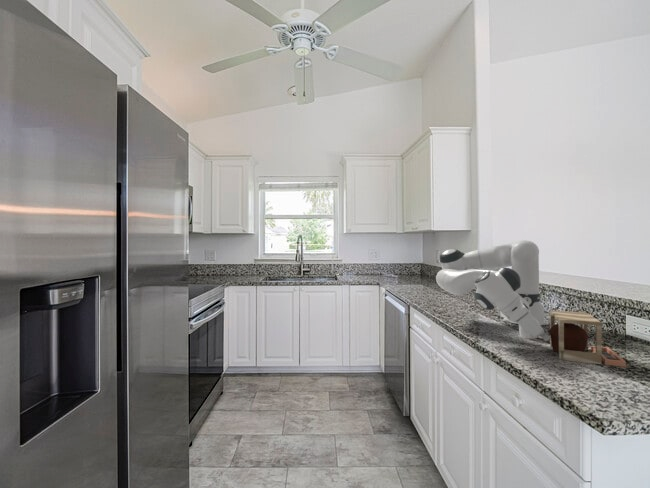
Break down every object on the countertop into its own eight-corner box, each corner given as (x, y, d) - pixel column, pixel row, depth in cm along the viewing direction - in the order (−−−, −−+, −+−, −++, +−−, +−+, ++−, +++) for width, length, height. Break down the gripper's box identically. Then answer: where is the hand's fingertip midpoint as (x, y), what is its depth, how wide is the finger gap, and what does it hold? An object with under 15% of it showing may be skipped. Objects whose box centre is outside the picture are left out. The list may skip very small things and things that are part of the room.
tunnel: (550, 345, 127) (550, 310, 127) (586, 349, 123) (586, 312, 123) (559, 359, 112) (559, 319, 112) (601, 364, 108) (601, 322, 108)
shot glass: (540, 339, 135) (540, 321, 135) (521, 338, 137) (521, 321, 137) (533, 335, 142) (533, 318, 142) (515, 334, 144) (515, 317, 144)
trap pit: (590, 350, 122) (590, 345, 122) (608, 351, 120) (608, 347, 120) (605, 364, 107) (605, 359, 107) (625, 366, 105) (625, 361, 105)
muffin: (571, 348, 124) (572, 320, 124) (597, 358, 113) (598, 327, 113) (540, 348, 124) (540, 320, 124) (563, 358, 113) (563, 327, 113)
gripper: (506, 309, 135) (536, 337, 131) (510, 320, 116) (545, 352, 112) (519, 298, 133) (549, 326, 129) (526, 307, 114) (561, 340, 110)
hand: (547, 339), depth 120 cm, fingers closed
